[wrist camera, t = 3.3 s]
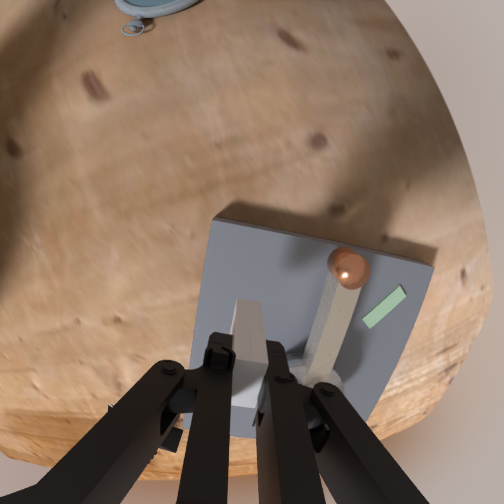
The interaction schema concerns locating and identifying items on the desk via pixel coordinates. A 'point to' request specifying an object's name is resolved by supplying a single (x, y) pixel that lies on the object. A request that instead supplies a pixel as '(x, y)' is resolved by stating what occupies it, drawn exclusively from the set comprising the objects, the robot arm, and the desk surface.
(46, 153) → the desk surface
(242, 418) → the stand
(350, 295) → the rotary pointer lever
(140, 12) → the pocket watch
